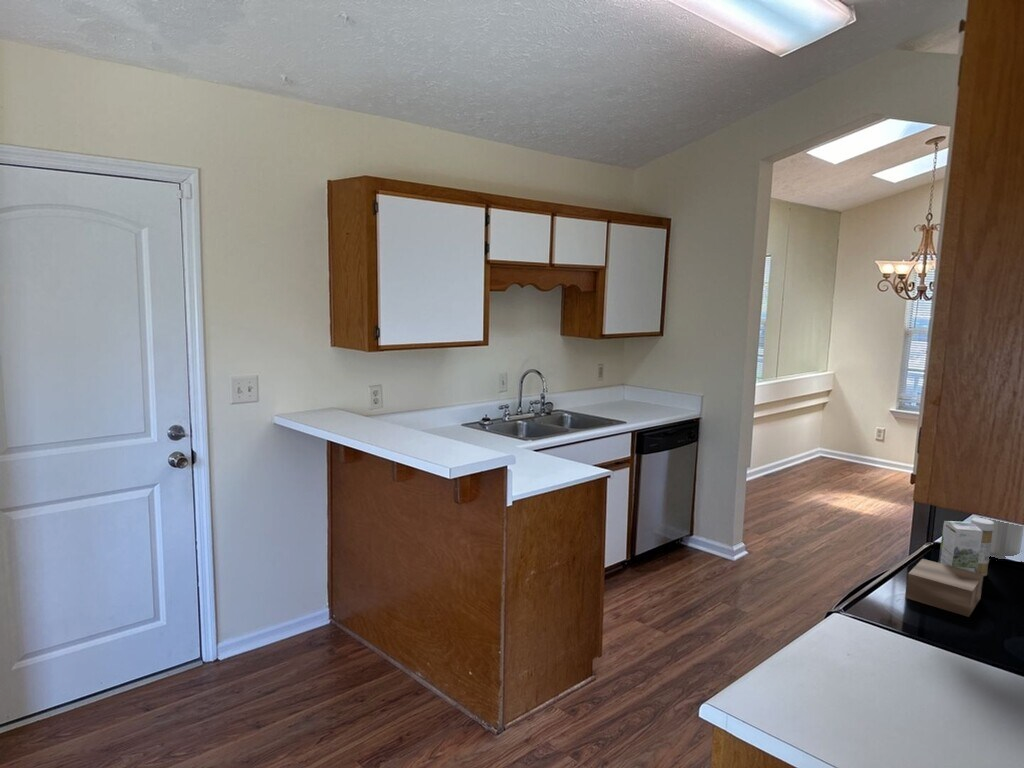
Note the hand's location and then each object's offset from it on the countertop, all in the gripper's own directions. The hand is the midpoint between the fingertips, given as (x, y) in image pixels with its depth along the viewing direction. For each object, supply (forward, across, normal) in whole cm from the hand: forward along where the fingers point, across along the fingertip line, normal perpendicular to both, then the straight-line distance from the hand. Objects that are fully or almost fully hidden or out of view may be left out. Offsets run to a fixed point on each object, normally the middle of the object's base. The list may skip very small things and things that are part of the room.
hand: (970, 470), depth 152 cm
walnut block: (+28, +1, +8) cm, 30 cm away
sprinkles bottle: (+29, -1, -14) cm, 32 cm away
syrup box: (+29, +1, -3) cm, 29 cm away
